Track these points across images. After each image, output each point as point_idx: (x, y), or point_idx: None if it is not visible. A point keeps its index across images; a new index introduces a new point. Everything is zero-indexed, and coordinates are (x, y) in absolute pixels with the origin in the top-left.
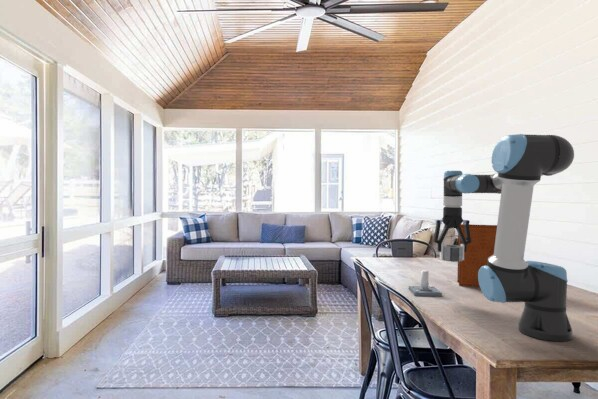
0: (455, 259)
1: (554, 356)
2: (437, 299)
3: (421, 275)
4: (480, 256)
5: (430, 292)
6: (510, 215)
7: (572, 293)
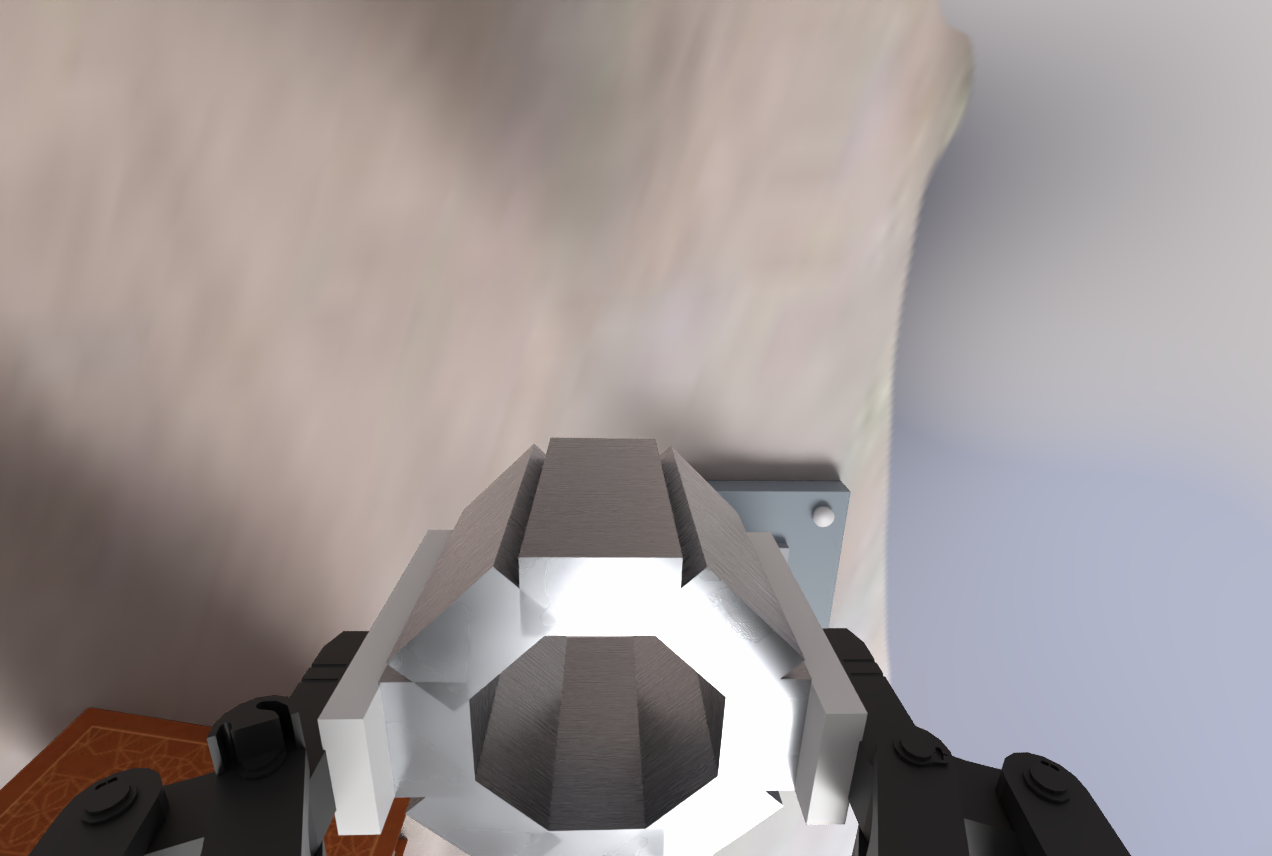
0: (591, 452)
1: None
2: (706, 396)
3: None
4: None
5: (728, 499)
6: None
7: None
